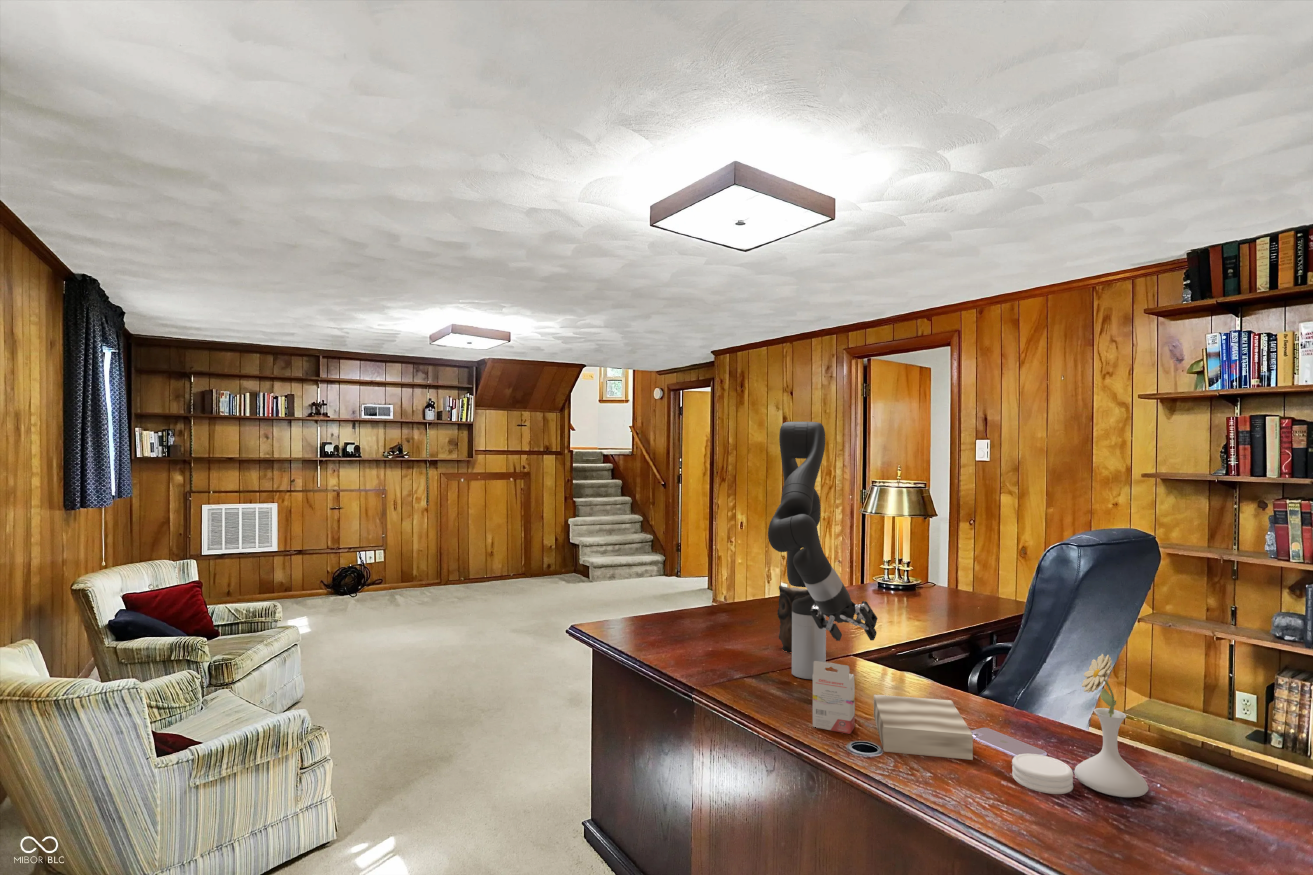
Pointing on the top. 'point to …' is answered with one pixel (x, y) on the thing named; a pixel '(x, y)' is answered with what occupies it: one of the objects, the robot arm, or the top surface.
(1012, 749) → the mobile phone
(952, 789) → the top surface
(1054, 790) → the coaster
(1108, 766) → the flower in vase
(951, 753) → the plinth
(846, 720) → the ink cartridge box
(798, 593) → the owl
